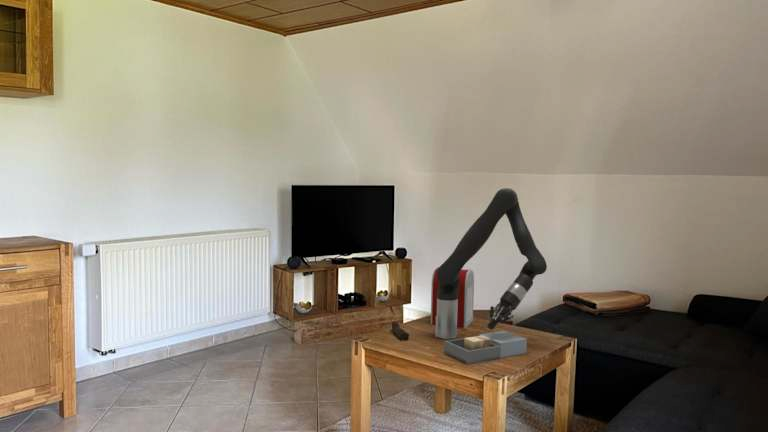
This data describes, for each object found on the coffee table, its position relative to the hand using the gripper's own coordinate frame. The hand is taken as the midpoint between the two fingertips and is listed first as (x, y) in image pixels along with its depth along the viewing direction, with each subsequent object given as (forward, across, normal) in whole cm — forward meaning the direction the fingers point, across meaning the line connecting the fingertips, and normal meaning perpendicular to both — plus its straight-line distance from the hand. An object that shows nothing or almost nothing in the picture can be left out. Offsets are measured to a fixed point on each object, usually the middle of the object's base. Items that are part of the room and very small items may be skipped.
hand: (489, 328), depth 246 cm
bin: (+13, 0, +1) cm, 13 cm away
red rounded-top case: (-3, -48, +18) cm, 52 cm away
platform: (+2, 0, +12) cm, 13 cm away
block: (+6, +1, +3) cm, 7 cm away
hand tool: (+22, -39, -7) cm, 46 cm away
